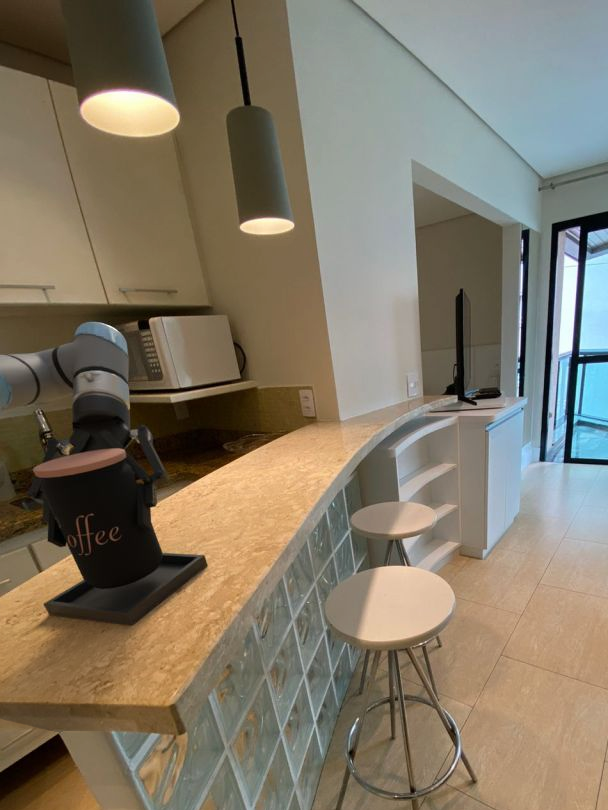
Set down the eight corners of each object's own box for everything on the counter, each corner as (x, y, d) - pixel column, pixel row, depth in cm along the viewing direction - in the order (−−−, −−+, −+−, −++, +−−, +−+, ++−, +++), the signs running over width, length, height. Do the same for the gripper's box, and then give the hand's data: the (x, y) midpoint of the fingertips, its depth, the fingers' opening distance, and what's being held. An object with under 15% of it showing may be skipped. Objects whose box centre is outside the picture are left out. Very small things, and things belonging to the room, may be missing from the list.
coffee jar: (69, 590, 59) (11, 472, 52) (127, 553, 69) (84, 449, 62) (128, 593, 56) (75, 469, 49) (180, 555, 66) (142, 446, 59)
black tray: (48, 615, 59) (42, 603, 58) (135, 560, 73) (131, 550, 72) (132, 625, 55) (126, 613, 54) (207, 565, 68) (204, 554, 67)
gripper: (2, 403, 59) (-14, 543, 51) (169, 382, 64) (178, 509, 56) (37, 432, 66) (27, 560, 58) (186, 411, 70) (196, 528, 62)
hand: (101, 535), depth 57 cm, fingers closed on coffee jar, 10 cm apart
